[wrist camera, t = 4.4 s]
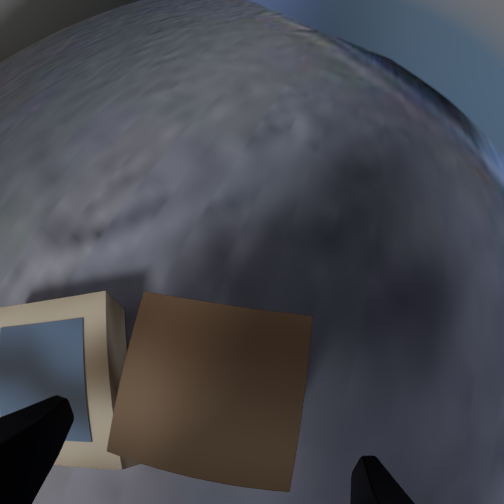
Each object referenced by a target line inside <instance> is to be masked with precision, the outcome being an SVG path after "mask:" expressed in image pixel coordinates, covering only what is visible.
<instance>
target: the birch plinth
mask: <svg viewBox="0 0 504 504" xmlns="http://www.w3.org/2000/svg"><path fill="white" fill-rule="evenodd" d="M126 355H127V346H126V331H125V311H124V308H123V307H122V306H121V305H120V304H119V303H118V302H117V301H116V300H115V299H114V298H113V297H112V296H111V295H110V294H109V293H108V292H107V291H101V292H95V293H89V294H83V295H77V296H71V297H65V298H58V299H52V300H46V301H40V302H34V303H28V304H21V305H15V306H9V307H2V308H0V417H2V416H5V415H7V414H10V413H12V412H15V411H18V410H20V409H23V408H25V407H28V406H30V405H33V404H35V403H37V402H40V401H42V400H45V399H47V398H50V397H52V396H54V395H60V396H63V397H65V398H67V399H68V400H69V402H70V405H71V408H72V411H73V414H74V421H73V424H72V426H71V428H70V431H69V433H68V435H67V438H66V440H65V442H64V444H63V447H62V449H61V451H60V454H59V456H58V457H57V459H56V461H55V463H54V465H62V466H72V467H82V468H96V469H126V468H129V467H132V466H135V465H138V464H141V463H138V462H135V461H132V460H129V459H126V458H123V457H120V456H118V455H115V454H112V453H109V452H107V446H108V440H109V434H110V429H111V423H112V418H113V413H114V408H115V403H116V398H117V394H118V389H119V385H120V380H121V376H122V371H123V367H124V363H125V359H126Z"/></svg>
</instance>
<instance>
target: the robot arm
mask: <svg viewBox="0 0 504 504" xmlns="http://www.w3.org/2000/svg"><path fill="white" fill-rule="evenodd" d="M73 421H74V414H73V411H72V408H71V405H70V402H69V400H68V399H67V398H65V397H63V396H60V395H54V396H52V397H50V398H47V399H45V400H42V401H40V402H37V403H35V404H33V405H30V406H28V407H25V408H23V409H20V410H18V411H15V412H12V413H10V414H7V415H5V416H2V417H0V504H32V503H33V501H34V499H35V497H36V495H37V493H38V491H39V490H40V488H41V486H42V484H43V482H44V481H45V479H46V477H47V475H48V473H49V472H50V470H51V468H52V466H53V465H54V463H55V461H56V459H57V457H58V456H59V454H60V451H61V449H62V447H63V444H64V442H65V440H66V438H67V435H68V433H69V431H70V428H71V426H72V424H73ZM350 504H414V502H413V501H412V500H411V499H410V498H409V496H408V495H407V494H406V493H405V492H404V490H403V489H402V488H401V487H400V485H399V484H398V483H397V482H396V481H395V479H394V478H393V477H392V476H391V474H390V473H389V472H388V471H387V470H386V468H385V467H384V466H383V465H382V463H381V462H380V461H379V460H378V458H377V457H375V456H362V457H361V458H360V459H359V461H358V463H357V464H356V466H355V468H354V470H353V472H352V477H351V502H350Z"/></svg>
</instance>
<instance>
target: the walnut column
mask: <svg viewBox="0 0 504 504" xmlns="http://www.w3.org/2000/svg"><path fill="white" fill-rule="evenodd" d="M312 319H313V316H308V315H300V314H291V313H283V312H275V311H267V310H260V309H252V308H245V307H238V306H231V305H224V304H217V303H211V302H204V301H198V300H192V299H186V298H180V297H174V296H168V295H162V294H157V293H151V292H145V291H144V292H143V296H142V299H141V303H140V306H139V310H138V313H137V317H136V320H135V324H134V328H133V331H132V335H131V339H130V343H129V347H128V351H127V355H126V359H125V363H124V367H123V371H122V376H121V380H120V385H119V389H118V394H117V398H116V403H115V408H114V413H113V418H112V423H111V429H110V434H109V440H108V446H107V452H109V453H112V454H115V455H118V456H120V457H123V458H126V459H129V460H132V461H135V462H138V463H141V464H144V465H147V466H151V467H154V468H158V469H161V470H165V471H168V472H172V473H176V474H180V475H184V476H188V477H192V478H197V479H201V480H206V481H211V482H216V483H222V484H227V485H234V486H240V487H247V488H254V489H263V490H272V491H283V492H289V491H290V485H291V480H292V474H293V468H294V462H295V456H296V450H297V444H298V437H299V431H300V424H301V417H302V409H303V402H304V394H305V386H306V377H307V369H308V360H309V350H310V340H311V330H312Z"/></svg>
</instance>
